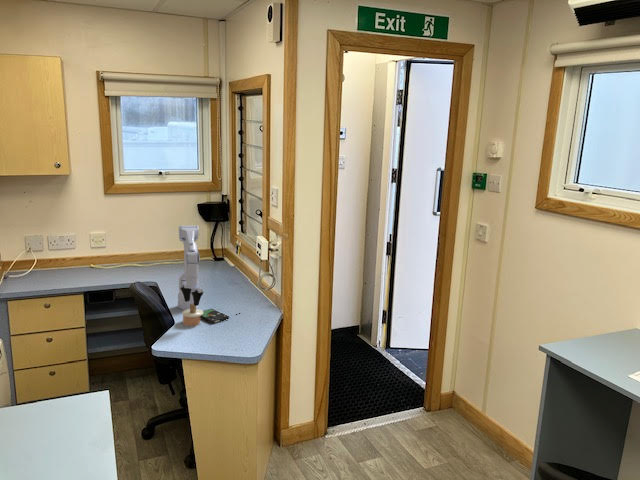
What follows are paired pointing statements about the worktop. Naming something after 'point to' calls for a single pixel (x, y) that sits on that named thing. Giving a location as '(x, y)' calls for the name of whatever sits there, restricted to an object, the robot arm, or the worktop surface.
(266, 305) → the worktop surface
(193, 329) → the worktop surface
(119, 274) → the worktop surface
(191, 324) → the bowl
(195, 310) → the lid
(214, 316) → the disk drive
